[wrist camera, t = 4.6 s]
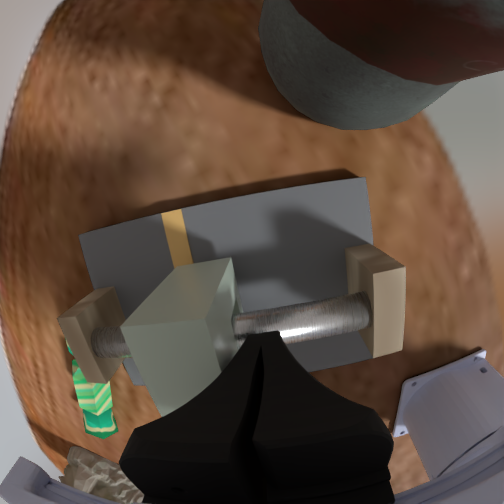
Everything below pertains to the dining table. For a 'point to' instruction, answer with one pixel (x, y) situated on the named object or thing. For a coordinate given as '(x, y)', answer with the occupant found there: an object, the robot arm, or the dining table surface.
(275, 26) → the bottle
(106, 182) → the dining table surface
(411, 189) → the dining table surface
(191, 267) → the grey square nut
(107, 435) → the candy
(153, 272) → the pipe rig
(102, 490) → the jagged grey rock
